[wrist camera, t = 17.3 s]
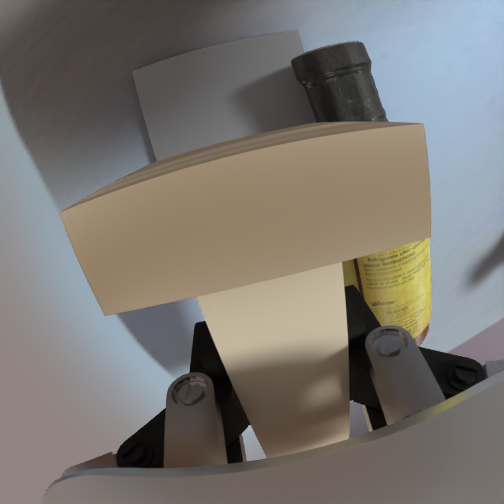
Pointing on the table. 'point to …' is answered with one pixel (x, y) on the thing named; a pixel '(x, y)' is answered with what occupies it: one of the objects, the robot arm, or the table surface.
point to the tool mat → (222, 93)
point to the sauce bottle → (388, 261)
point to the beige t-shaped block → (262, 255)
